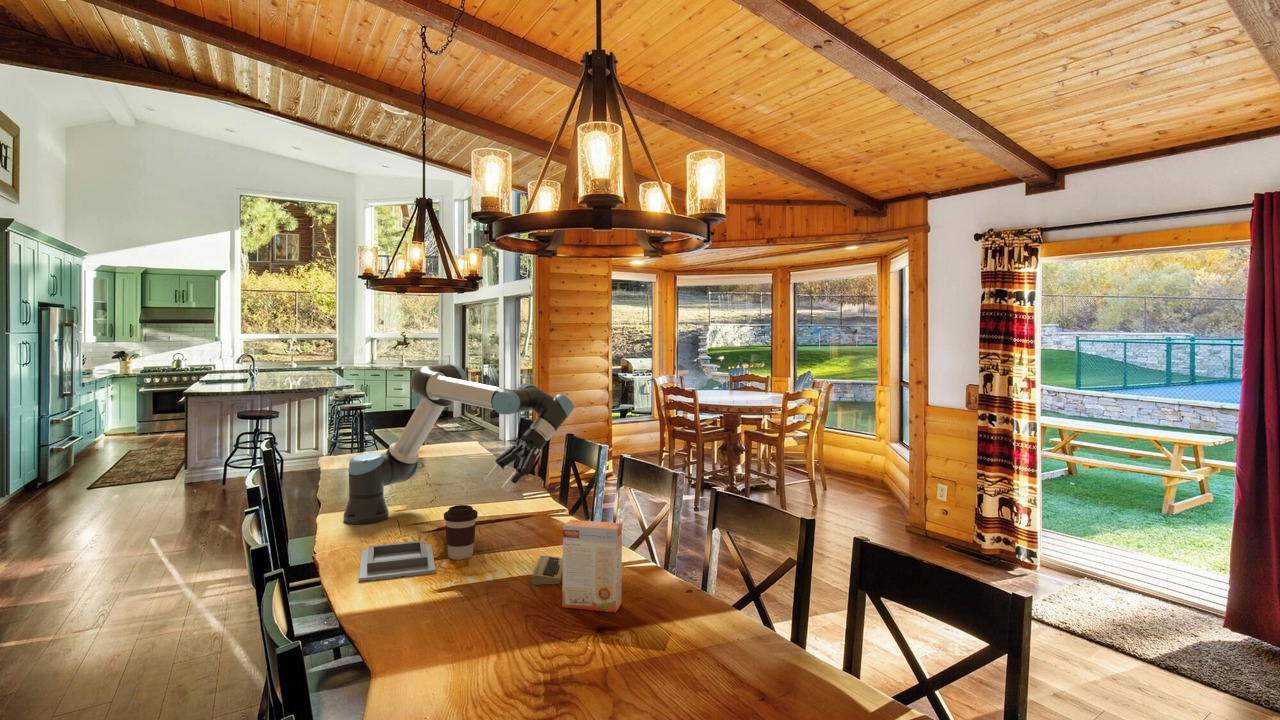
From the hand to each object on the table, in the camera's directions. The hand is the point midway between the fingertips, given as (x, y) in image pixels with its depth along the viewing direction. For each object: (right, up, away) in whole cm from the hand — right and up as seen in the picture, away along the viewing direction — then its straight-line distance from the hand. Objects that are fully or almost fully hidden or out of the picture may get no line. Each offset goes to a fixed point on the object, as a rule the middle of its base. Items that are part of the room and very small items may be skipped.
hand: (495, 486), depth 198 cm
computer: (+20, -22, -19) cm, 35 cm away
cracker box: (+33, -22, -40) cm, 57 cm away
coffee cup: (-9, -20, -6) cm, 23 cm away
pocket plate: (-26, -20, -12) cm, 35 cm away
